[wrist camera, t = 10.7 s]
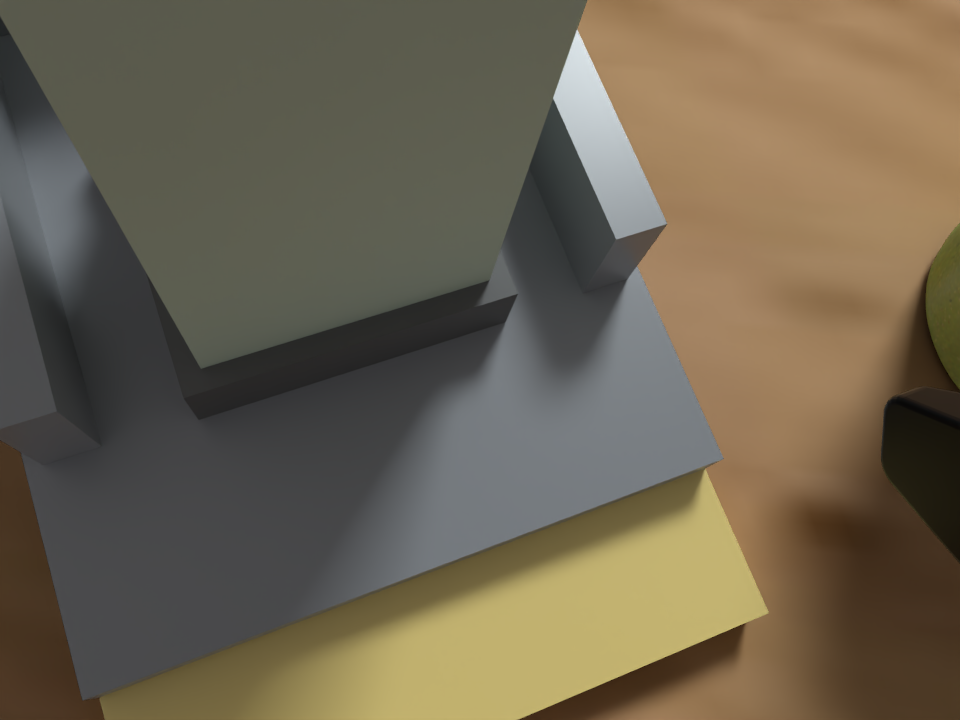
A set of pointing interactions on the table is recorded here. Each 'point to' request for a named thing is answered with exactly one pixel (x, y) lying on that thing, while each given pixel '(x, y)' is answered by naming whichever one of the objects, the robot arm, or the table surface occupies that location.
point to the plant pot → (946, 304)
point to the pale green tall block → (304, 167)
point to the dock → (366, 467)
